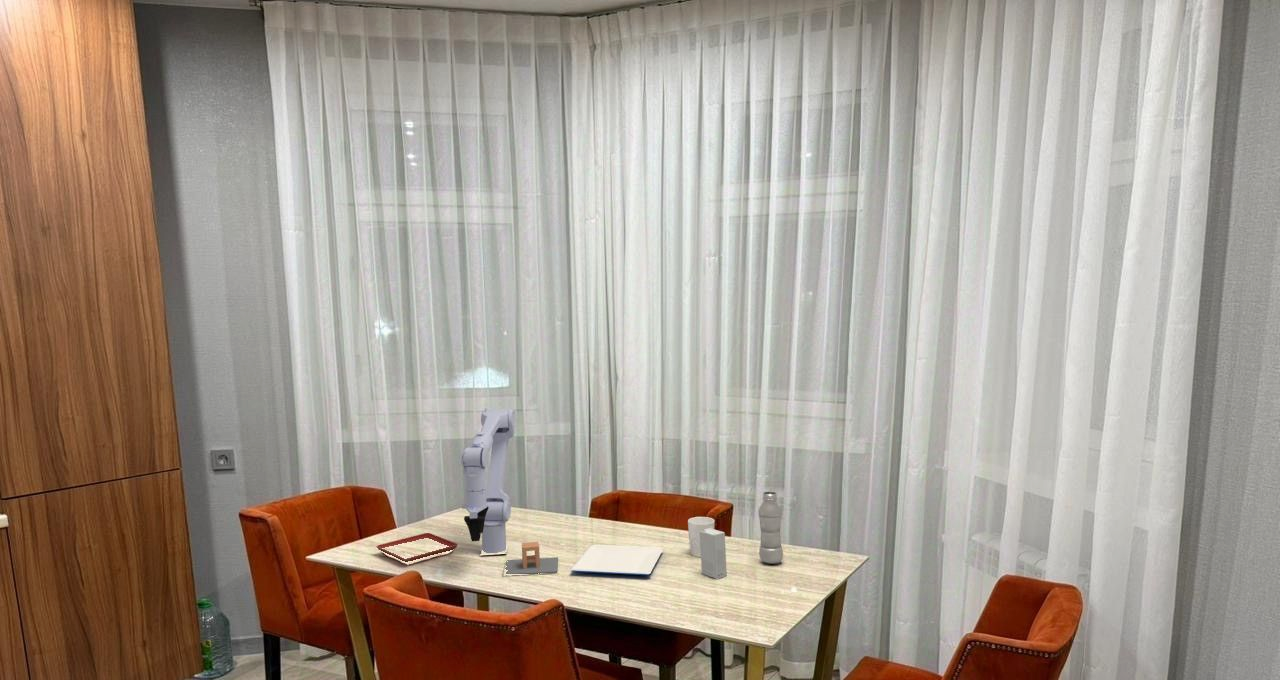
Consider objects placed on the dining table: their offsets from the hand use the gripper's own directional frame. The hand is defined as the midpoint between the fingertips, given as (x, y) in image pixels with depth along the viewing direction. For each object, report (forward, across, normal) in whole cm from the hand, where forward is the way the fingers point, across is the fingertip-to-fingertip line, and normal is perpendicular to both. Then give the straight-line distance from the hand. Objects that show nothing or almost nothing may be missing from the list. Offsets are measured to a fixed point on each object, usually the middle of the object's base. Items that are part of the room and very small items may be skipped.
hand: (477, 536), depth 213 cm
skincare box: (+10, +15, +65) cm, 67 cm away
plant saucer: (+10, -17, -20) cm, 28 cm away
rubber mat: (+9, +1, +15) cm, 18 cm away
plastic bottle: (+10, +8, +83) cm, 84 cm away
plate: (+10, +2, +40) cm, 41 cm away
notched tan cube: (+9, +1, +15) cm, 17 cm away
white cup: (+10, -3, +65) cm, 66 cm away
